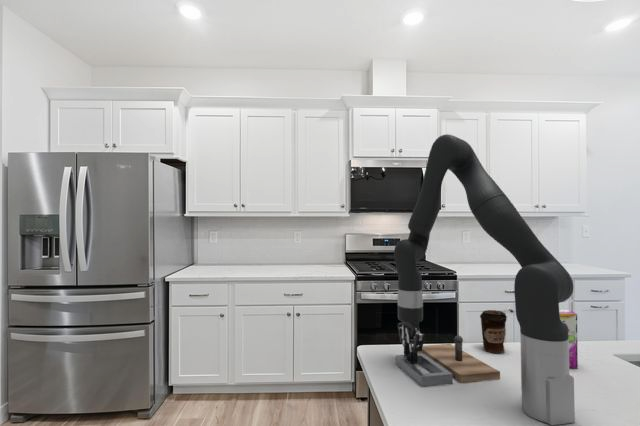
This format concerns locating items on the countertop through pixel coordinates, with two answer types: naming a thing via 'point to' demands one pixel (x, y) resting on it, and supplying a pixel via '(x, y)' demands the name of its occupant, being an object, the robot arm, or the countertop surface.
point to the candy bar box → (571, 335)
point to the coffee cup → (493, 330)
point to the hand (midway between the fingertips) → (410, 361)
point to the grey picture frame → (431, 379)
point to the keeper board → (460, 362)
